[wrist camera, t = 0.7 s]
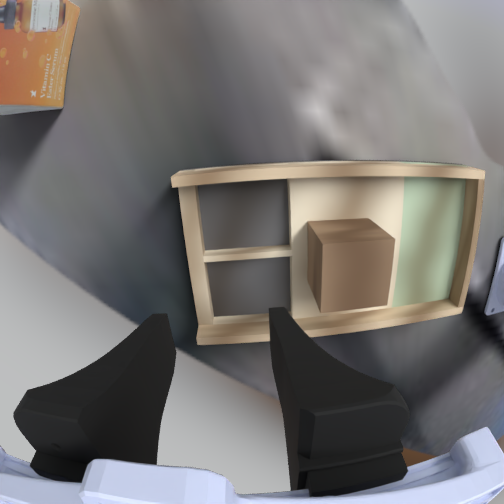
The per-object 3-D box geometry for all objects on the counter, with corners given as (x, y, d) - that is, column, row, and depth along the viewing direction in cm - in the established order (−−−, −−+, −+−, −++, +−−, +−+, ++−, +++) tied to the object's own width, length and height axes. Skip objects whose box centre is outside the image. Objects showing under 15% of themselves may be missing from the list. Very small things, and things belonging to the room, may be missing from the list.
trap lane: (459, 163, 19) (485, 170, 16) (443, 294, 23) (461, 313, 21) (181, 169, 19) (171, 176, 16) (202, 319, 23) (197, 344, 20)
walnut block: (368, 217, 19) (395, 239, 15) (364, 275, 21) (387, 305, 17) (307, 221, 19) (322, 244, 15) (307, 280, 21) (320, 313, 17)
